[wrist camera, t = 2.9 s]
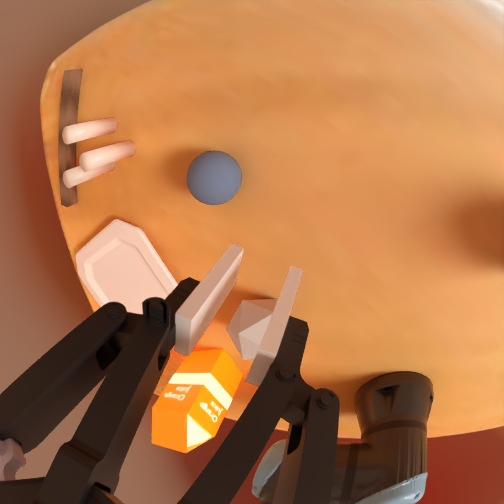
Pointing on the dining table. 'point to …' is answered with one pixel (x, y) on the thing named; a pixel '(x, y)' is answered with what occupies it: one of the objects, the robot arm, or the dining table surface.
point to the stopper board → (66, 119)
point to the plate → (123, 267)
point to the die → (250, 325)
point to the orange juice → (195, 400)
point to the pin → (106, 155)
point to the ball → (214, 177)
